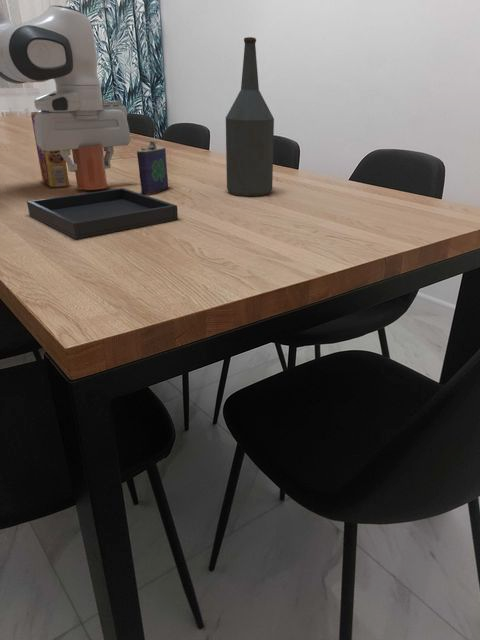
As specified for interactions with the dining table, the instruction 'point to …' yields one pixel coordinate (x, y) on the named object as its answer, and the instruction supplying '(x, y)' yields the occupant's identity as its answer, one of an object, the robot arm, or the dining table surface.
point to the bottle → (249, 134)
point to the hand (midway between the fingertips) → (89, 169)
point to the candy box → (51, 165)
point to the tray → (101, 212)
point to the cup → (90, 167)
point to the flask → (152, 169)
